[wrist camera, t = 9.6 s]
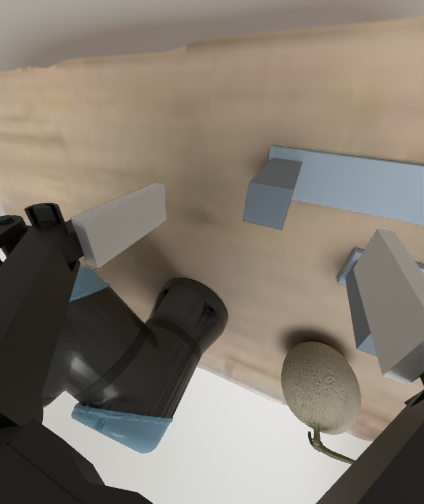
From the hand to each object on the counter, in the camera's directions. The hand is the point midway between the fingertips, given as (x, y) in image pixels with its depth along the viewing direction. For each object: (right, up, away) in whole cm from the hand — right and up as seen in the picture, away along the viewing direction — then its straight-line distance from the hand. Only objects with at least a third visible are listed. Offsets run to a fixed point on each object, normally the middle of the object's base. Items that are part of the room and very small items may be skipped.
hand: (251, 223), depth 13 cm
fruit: (+16, -19, +23) cm, 34 cm away
